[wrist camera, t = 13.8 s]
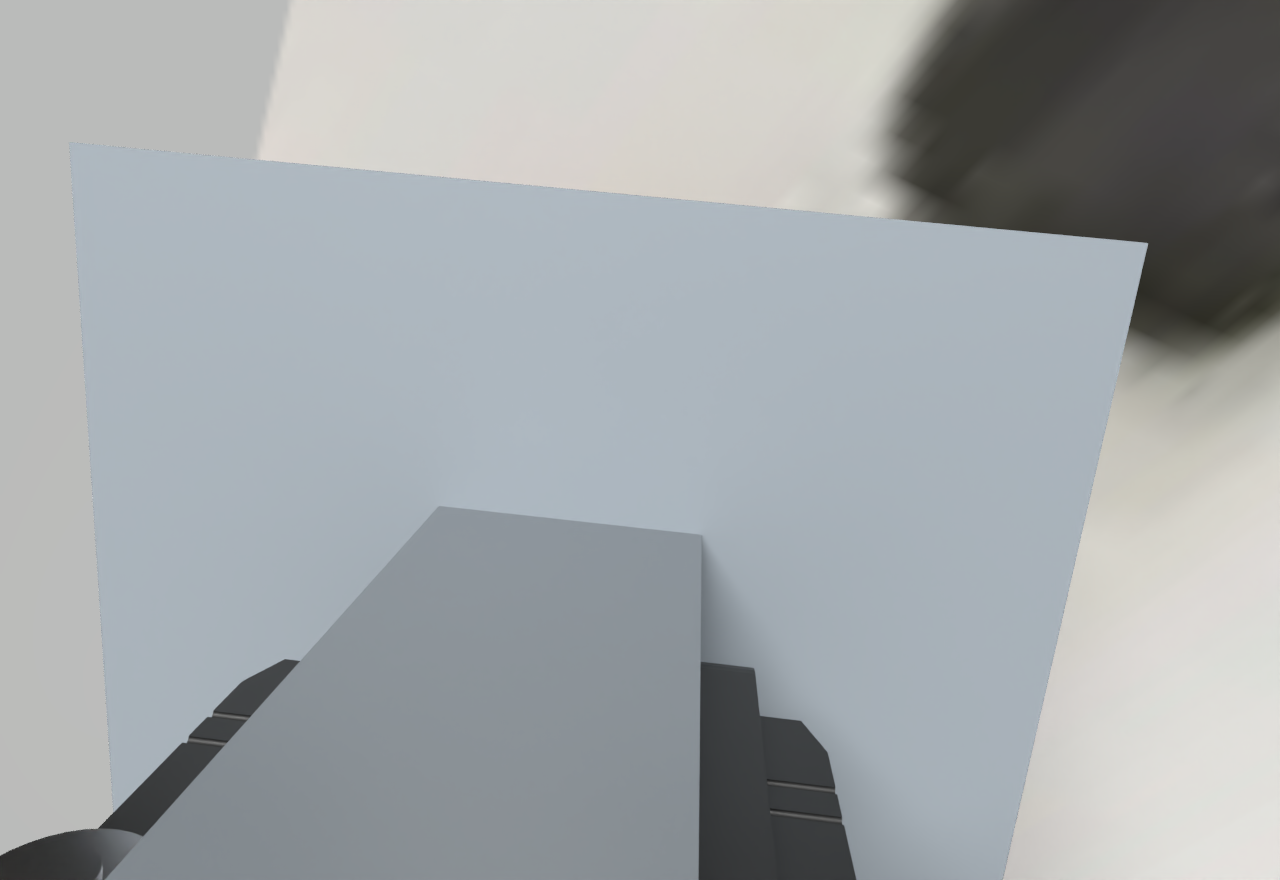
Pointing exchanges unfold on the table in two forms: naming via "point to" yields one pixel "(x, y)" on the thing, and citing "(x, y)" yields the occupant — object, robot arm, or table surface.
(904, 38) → the table surface
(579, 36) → the table surface
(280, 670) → the robot arm
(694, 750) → the square plate with knob
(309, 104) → the table surface
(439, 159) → the table surface
